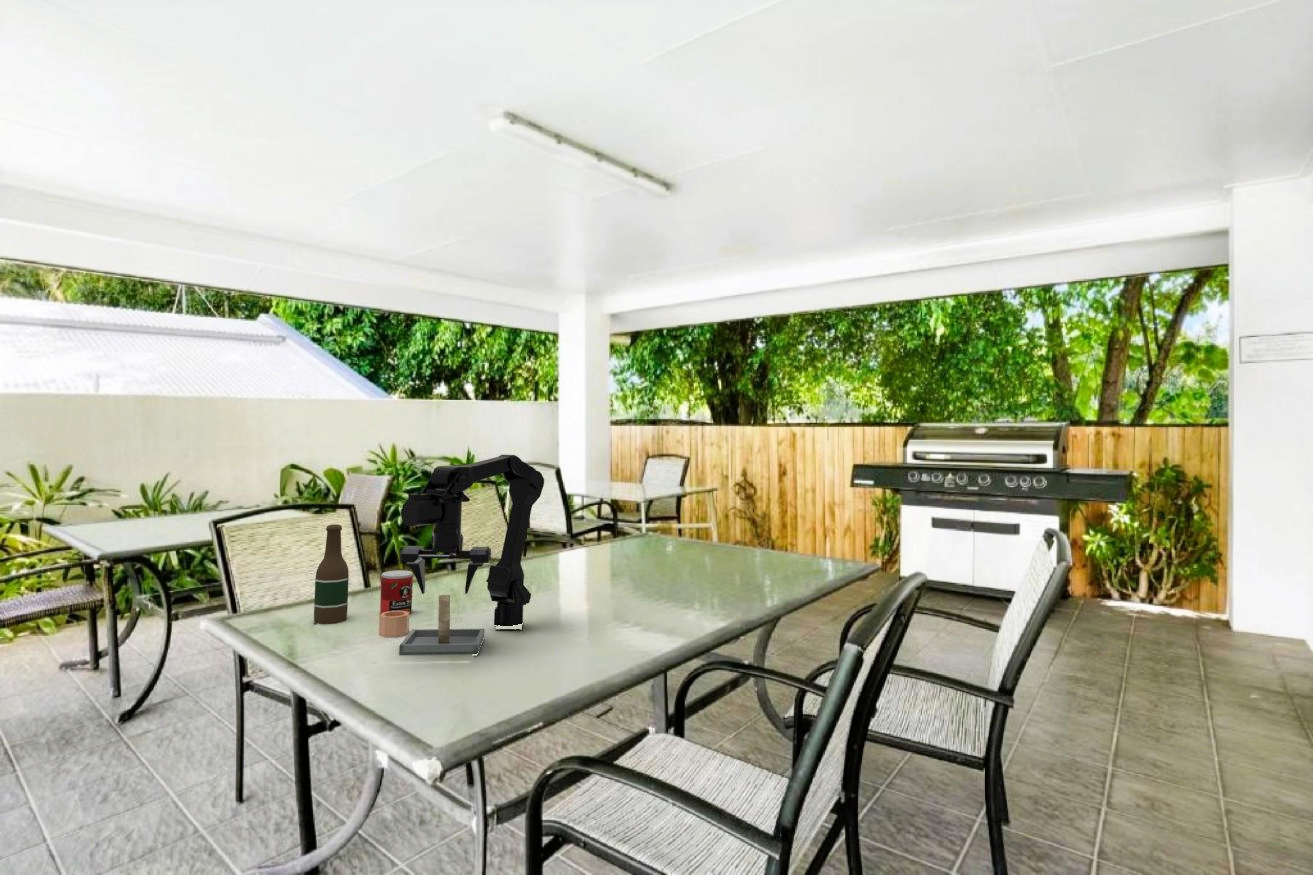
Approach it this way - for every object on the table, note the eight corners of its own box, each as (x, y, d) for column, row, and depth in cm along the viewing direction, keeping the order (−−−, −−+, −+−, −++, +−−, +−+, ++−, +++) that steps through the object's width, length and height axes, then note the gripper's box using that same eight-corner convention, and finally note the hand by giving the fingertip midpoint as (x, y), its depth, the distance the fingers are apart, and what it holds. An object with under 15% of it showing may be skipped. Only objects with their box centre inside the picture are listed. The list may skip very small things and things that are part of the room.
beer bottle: (338, 626, 157) (341, 527, 158) (306, 625, 157) (310, 526, 158) (353, 618, 165) (357, 523, 165) (323, 617, 165) (327, 522, 166)
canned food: (390, 621, 164) (392, 577, 164) (373, 615, 169) (375, 572, 169) (417, 615, 170) (419, 573, 170) (400, 610, 175) (402, 569, 175)
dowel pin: (450, 641, 145) (451, 594, 145) (448, 644, 143) (449, 596, 143) (439, 641, 145) (439, 594, 145) (437, 645, 142) (437, 597, 142)
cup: (410, 631, 155) (411, 610, 155) (404, 638, 149) (405, 617, 149) (383, 631, 154) (384, 610, 155) (376, 639, 148) (377, 617, 149)
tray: (484, 639, 151) (484, 628, 151) (477, 656, 139) (477, 644, 139) (412, 640, 149) (412, 629, 149) (399, 657, 137) (399, 645, 137)
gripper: (494, 519, 153) (492, 585, 153) (412, 518, 151) (409, 585, 151) (489, 525, 142) (486, 596, 142) (400, 523, 140) (397, 596, 140)
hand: (445, 593), depth 144 cm, fingers open, 9 cm apart
